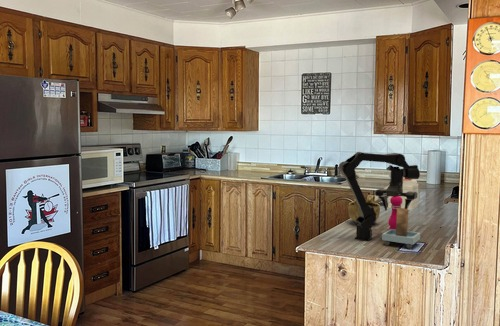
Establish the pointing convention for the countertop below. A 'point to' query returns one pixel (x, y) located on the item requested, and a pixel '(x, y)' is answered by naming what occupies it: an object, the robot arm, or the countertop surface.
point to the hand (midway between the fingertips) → (395, 211)
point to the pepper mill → (394, 211)
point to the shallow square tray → (401, 238)
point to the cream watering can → (407, 186)
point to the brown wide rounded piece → (354, 208)
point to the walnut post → (402, 222)
